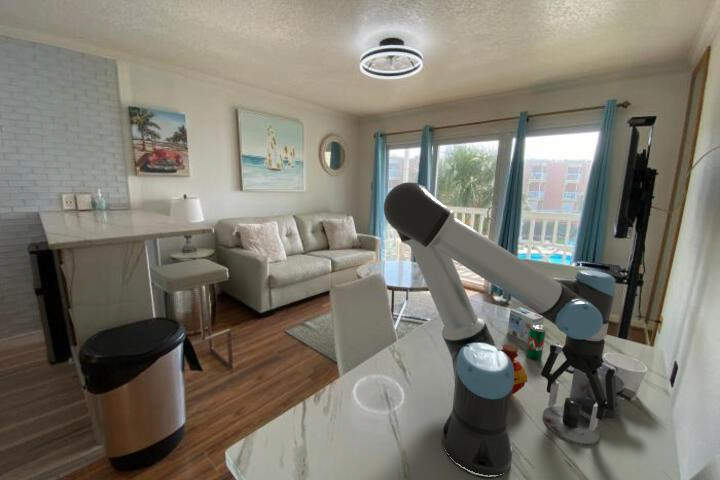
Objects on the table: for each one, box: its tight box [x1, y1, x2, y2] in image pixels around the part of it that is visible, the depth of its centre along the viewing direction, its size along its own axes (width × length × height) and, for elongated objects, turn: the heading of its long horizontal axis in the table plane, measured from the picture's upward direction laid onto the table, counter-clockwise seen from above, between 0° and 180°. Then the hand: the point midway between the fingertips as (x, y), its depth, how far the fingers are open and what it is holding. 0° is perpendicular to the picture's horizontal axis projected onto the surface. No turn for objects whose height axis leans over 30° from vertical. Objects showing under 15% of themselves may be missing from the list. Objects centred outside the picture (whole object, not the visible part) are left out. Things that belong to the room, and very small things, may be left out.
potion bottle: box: [500, 343, 528, 401], centre depth 89 cm, size 10×10×15 cm
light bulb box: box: [506, 307, 545, 344], centre depth 125 cm, size 11×7×11 cm, turn 25°
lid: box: [542, 397, 600, 446], centre depth 78 cm, size 12×12×7 cm
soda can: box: [525, 324, 546, 361], centre depth 110 cm, size 5×5×12 cm
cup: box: [602, 352, 648, 402], centre depth 92 cm, size 10×10×10 cm
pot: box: [564, 366, 637, 420], centre depth 86 cm, size 11×16×9 cm
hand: (571, 415), depth 78 cm, fingers open, 9 cm apart
